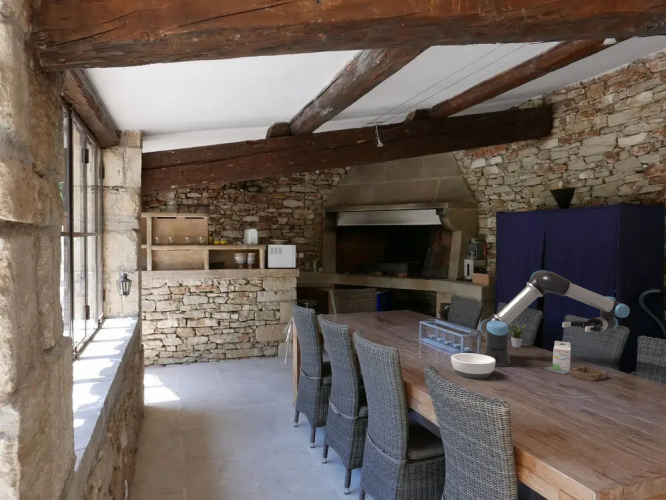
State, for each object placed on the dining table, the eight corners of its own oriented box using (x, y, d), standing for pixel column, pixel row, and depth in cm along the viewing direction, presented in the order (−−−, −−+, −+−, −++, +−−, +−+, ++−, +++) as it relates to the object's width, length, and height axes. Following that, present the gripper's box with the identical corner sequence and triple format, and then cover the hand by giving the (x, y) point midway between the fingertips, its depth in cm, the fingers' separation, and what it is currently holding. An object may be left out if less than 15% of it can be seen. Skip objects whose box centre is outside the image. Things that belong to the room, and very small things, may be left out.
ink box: (552, 369, 267) (553, 342, 266) (553, 367, 271) (553, 340, 271) (570, 371, 263) (570, 344, 262) (570, 369, 267) (571, 342, 267)
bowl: (497, 381, 244) (498, 365, 244) (451, 378, 249) (451, 362, 248) (492, 369, 266) (492, 354, 266) (450, 366, 271) (450, 351, 270)
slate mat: (564, 374, 259) (564, 373, 259) (544, 368, 269) (544, 367, 269) (578, 371, 265) (578, 370, 265) (558, 366, 275) (558, 365, 275)
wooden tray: (592, 381, 247) (592, 375, 247) (570, 374, 258) (570, 369, 258) (607, 378, 253) (607, 372, 253) (584, 371, 264) (584, 366, 264)
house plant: (501, 347, 320) (502, 322, 320) (504, 343, 333) (505, 319, 332) (524, 350, 314) (525, 324, 313) (527, 345, 326) (527, 321, 325)
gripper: (618, 335, 271) (595, 338, 260) (576, 327, 293) (553, 329, 282) (619, 321, 271) (596, 324, 260) (577, 314, 292) (554, 316, 282)
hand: (574, 327), depth 271 cm, fingers open, 13 cm apart
